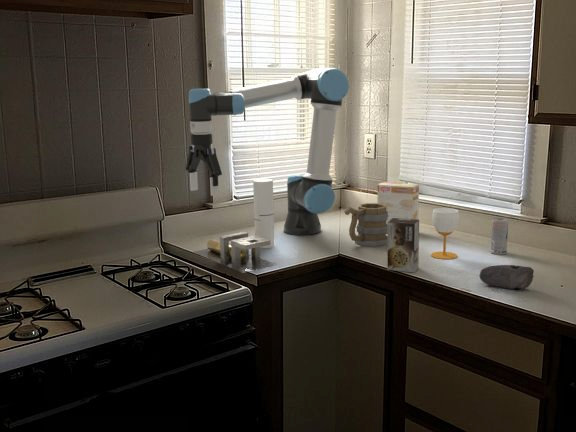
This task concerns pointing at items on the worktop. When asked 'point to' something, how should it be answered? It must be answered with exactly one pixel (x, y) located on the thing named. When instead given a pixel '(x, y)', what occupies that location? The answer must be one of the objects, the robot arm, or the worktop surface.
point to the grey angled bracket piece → (225, 244)
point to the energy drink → (499, 236)
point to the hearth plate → (217, 258)
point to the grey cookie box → (403, 245)
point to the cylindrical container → (264, 210)
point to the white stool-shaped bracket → (247, 243)
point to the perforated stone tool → (507, 276)
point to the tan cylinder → (215, 247)
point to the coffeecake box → (399, 200)
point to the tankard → (369, 224)
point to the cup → (445, 228)
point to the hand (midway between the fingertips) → (204, 192)
